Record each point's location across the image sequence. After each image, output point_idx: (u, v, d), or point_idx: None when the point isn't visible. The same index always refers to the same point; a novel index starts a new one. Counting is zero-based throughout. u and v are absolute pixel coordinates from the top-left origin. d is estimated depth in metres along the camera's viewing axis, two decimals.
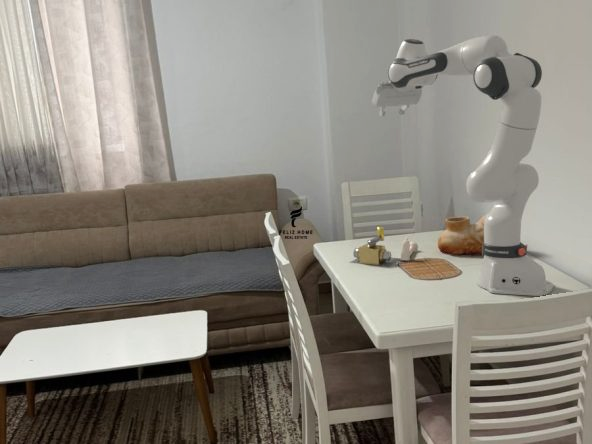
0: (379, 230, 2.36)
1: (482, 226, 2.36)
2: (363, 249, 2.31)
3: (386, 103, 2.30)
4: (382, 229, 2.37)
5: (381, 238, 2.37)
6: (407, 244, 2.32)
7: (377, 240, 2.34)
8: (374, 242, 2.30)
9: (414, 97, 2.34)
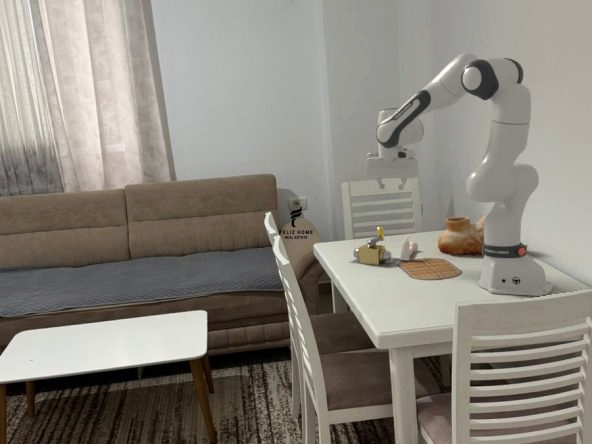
0: (379, 230, 2.36)
1: (482, 226, 2.36)
2: (363, 249, 2.31)
3: (375, 173, 2.32)
4: (382, 229, 2.37)
5: (381, 238, 2.37)
6: (407, 244, 2.32)
7: (377, 240, 2.34)
8: (374, 242, 2.30)
9: (406, 169, 2.25)
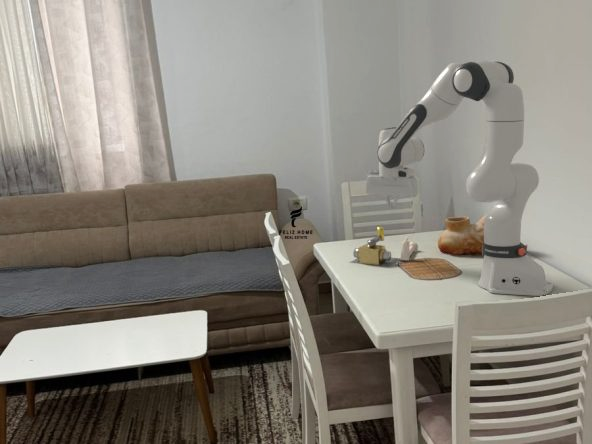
0: (379, 230, 2.36)
1: (482, 226, 2.36)
2: (363, 249, 2.31)
3: (375, 191, 2.33)
4: (382, 229, 2.37)
5: (381, 238, 2.37)
6: (407, 244, 2.32)
7: (377, 240, 2.34)
8: (374, 242, 2.30)
9: (406, 188, 2.26)
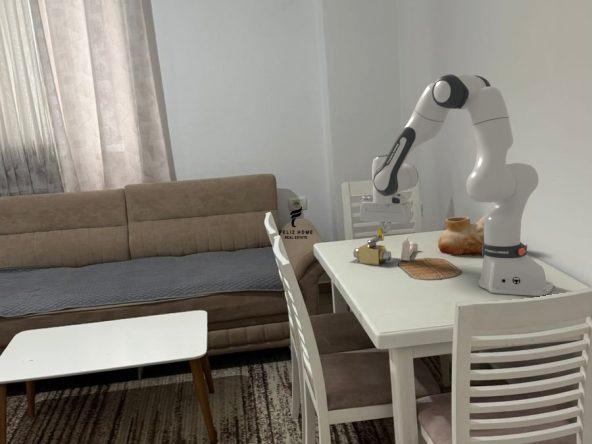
0: (379, 230, 2.37)
1: (482, 226, 2.36)
2: (363, 249, 2.31)
3: (369, 217, 2.37)
4: (382, 229, 2.37)
5: (381, 238, 2.37)
6: (407, 244, 2.32)
7: (377, 240, 2.34)
8: (374, 242, 2.30)
9: (400, 215, 2.30)
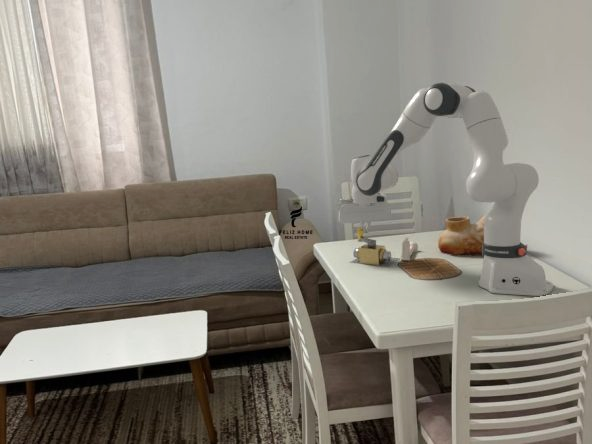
0: (362, 231, 2.37)
1: (482, 226, 2.36)
2: (363, 249, 2.31)
3: (350, 219, 2.36)
4: None
5: None
6: (407, 244, 2.32)
7: None
8: (375, 241, 2.32)
9: (383, 212, 2.36)
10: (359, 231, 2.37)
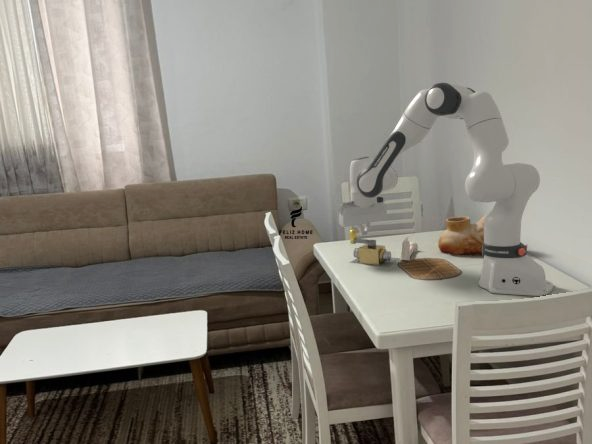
0: None
1: (483, 226, 2.36)
2: (363, 249, 2.31)
3: (353, 222, 2.33)
4: None
5: None
6: (407, 244, 2.32)
7: None
8: None
9: (380, 213, 2.38)
10: (353, 233, 2.35)
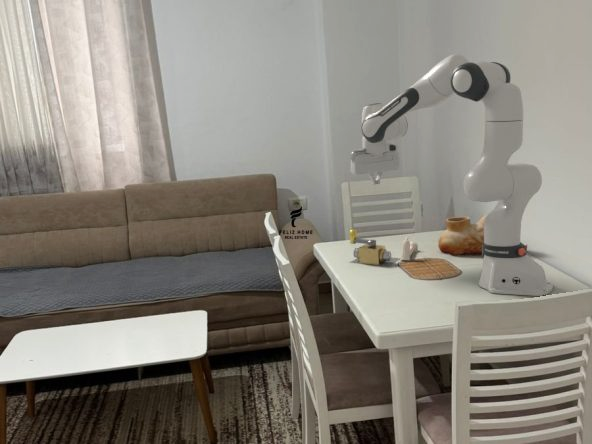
0: None
1: (483, 226, 2.36)
2: (363, 249, 2.31)
3: (365, 170, 2.28)
4: None
5: None
6: (407, 244, 2.32)
7: None
8: None
9: (393, 162, 2.34)
10: (353, 233, 2.35)
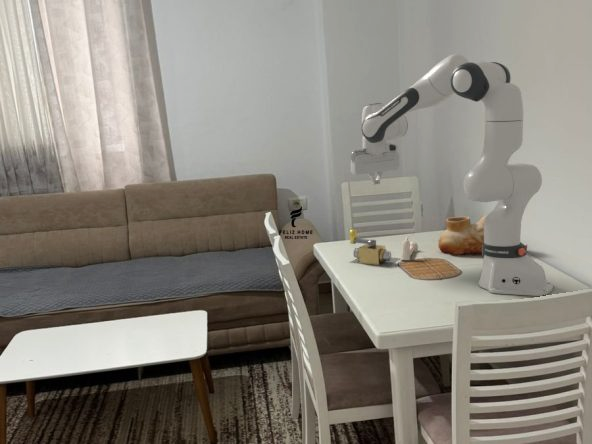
0: None
1: (483, 226, 2.36)
2: (363, 249, 2.31)
3: (365, 170, 2.28)
4: None
5: None
6: (407, 244, 2.32)
7: None
8: None
9: (393, 162, 2.34)
10: (353, 233, 2.35)
